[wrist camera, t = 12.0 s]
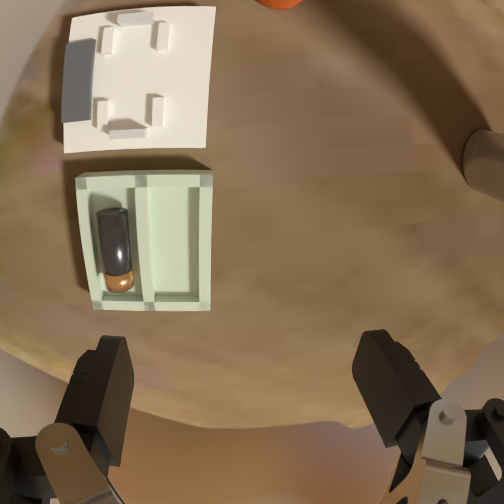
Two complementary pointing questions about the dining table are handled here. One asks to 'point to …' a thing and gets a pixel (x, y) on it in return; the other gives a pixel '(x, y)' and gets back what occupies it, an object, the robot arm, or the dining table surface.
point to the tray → (152, 236)
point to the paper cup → (280, 3)
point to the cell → (115, 249)
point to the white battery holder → (137, 79)
